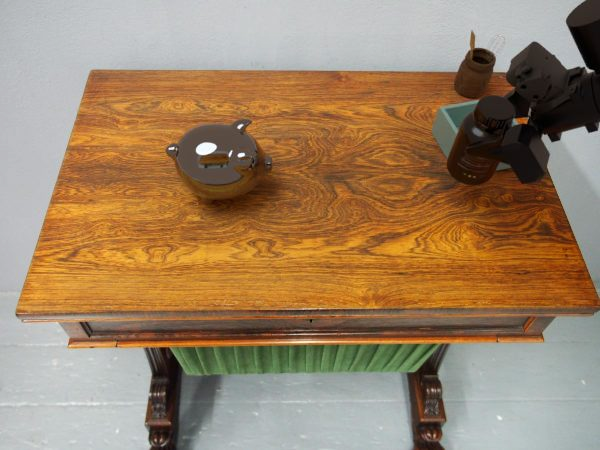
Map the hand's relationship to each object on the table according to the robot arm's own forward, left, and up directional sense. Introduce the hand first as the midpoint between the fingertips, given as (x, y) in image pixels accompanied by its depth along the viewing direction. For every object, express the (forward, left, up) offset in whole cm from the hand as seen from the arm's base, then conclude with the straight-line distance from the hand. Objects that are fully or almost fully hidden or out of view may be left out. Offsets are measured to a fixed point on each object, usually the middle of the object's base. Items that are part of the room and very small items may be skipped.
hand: (473, 133), depth 67 cm
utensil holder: (-15, -22, -13) cm, 29 cm away
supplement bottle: (-1, +1, -7) cm, 7 cm away
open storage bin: (-9, -8, -13) cm, 18 cm away
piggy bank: (+33, -10, -13) cm, 37 cm away
